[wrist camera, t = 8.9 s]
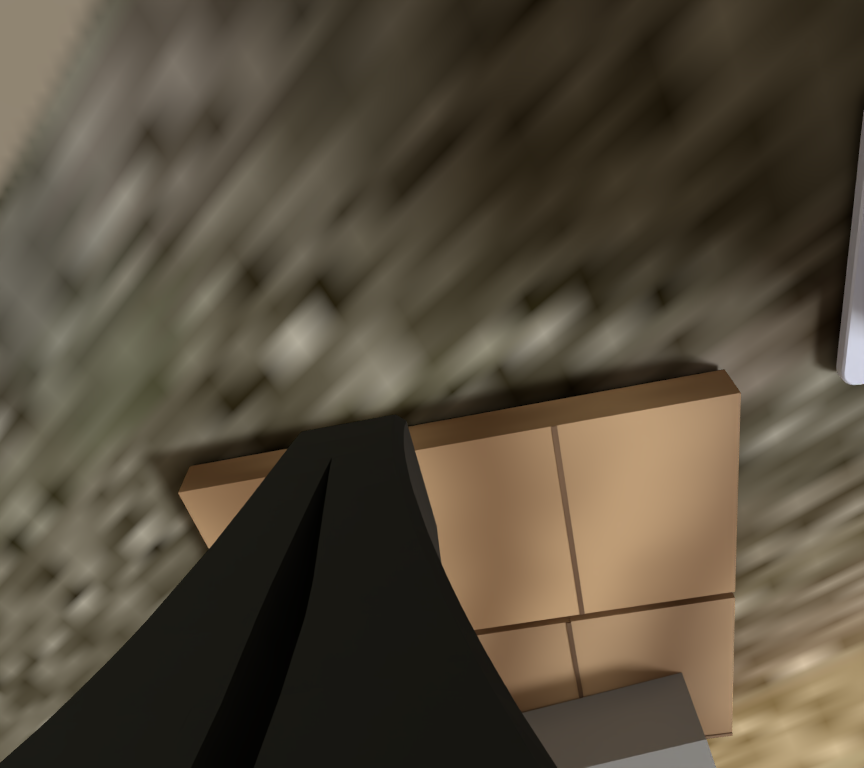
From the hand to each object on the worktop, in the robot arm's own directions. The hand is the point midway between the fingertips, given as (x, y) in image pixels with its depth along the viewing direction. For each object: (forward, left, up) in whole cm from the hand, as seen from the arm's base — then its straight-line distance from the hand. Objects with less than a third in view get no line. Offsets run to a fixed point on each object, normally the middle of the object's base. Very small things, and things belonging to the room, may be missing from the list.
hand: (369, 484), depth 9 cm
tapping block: (-3, +20, -9) cm, 22 cm away
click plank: (0, +10, -10) cm, 14 cm away
